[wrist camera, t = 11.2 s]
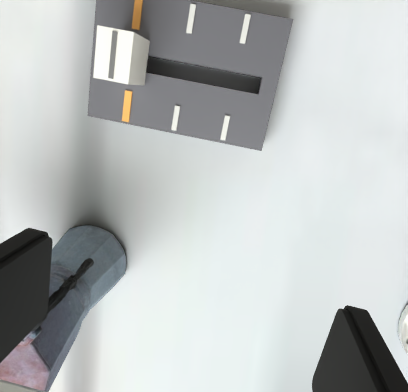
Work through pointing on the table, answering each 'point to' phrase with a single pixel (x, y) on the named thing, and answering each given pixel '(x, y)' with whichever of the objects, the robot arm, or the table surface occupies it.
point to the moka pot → (66, 304)
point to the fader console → (200, 56)
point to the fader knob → (120, 56)
